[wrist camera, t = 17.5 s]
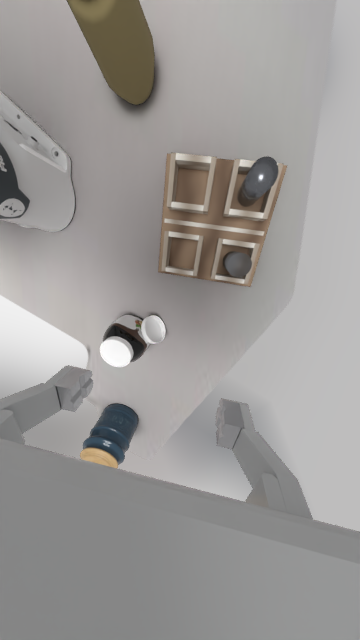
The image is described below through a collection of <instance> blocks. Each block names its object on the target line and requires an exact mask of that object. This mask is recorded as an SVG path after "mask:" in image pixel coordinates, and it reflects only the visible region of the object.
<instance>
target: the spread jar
mask: <svg viewBox="0 0 360 640" xmlns="http://www.w3.org/2000/svg"><path fill="white" fill-rule="evenodd" d="M165 334H166V329H165V325H164V323H163V321H162V320H161V319H160V318H159V317H158V316H155V315H151V316H148V317H146V318H145V319H144V320H142V319H141V318H139V317H136V316H133V315H123V316H121V317H120V318H118V319H117V320H116V321H115V322H113V323H112V324H111V325H110V326H109V328H108V329H107V330H106V332H105V334H104V337H103V343H102V344H101V346H100V354H101V356H102V358H103V359H104V360H105V361H106V362H107V363H108V364H110V365H112V366H115V367H124V366H126V365H127V364H129V362H134V361H136V360H137V359H139V358H140V357H141V356H142V355H143V354H144V352H145V351H146V349H147V348H148V346H149V344H150V343H151V344H156V343H160V342H162V341H163V340H164V338H165Z"/></svg>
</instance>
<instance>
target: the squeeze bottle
mask: <svg viewBox="0 0 360 640" xmlns="http://www.w3.org/2000/svg"><path fill="white" fill-rule="evenodd" d="M67 2H68V4H69V6H70V8H71V10H72V12H73V14H74V16H75V18H76V20H77V22H78V24H79V26H80V28H81V31H82V33H83V35H84V37H85V39H86V41H87V43H88V45H89V47H90V49H91V51H92V53H93V55H94V57H95V59H96V61H97V63H98V65H99V67H100V69H101V72H102V74H103V76H104V78H105V80H106V81H107V83H108V85H109V87H110V88H111V89H112V90H113V91H114V92H115V93H116V94H117V95H118V96H120V97H121V98H123V99H124V100H126V101H127V102H129V103H131V104H135V105H138V104H141V103H143V102H144V101H145V100H146V99H147V98H148V97H149V95H150V93H151V91H152V88H153V81H154V56H155V55H154V47H153V39H152V35H151V32H150V30H149V27H148V24H147V21H146V19H145V16H144V13H143V10H142V8H141V5H140V2H139V0H67Z"/></svg>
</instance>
